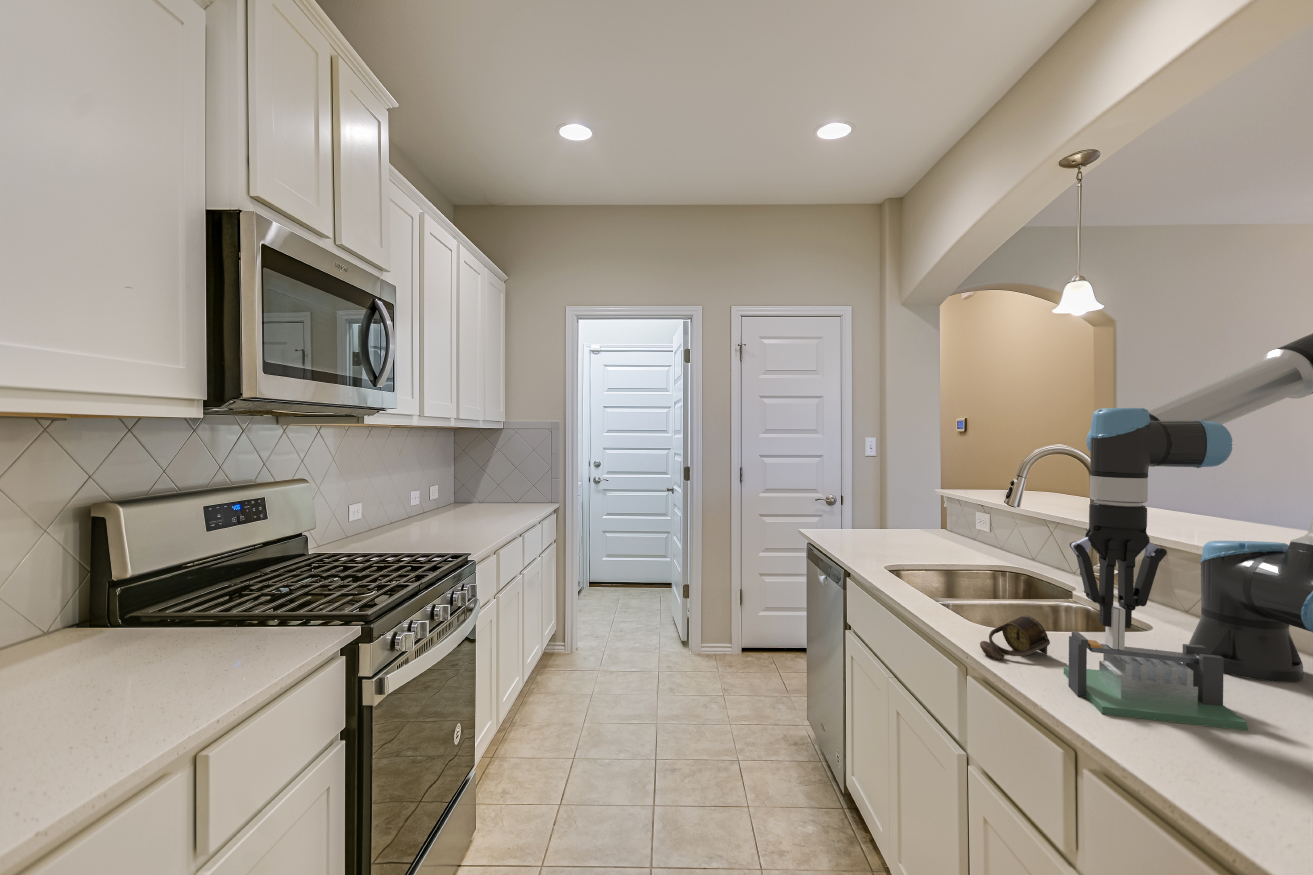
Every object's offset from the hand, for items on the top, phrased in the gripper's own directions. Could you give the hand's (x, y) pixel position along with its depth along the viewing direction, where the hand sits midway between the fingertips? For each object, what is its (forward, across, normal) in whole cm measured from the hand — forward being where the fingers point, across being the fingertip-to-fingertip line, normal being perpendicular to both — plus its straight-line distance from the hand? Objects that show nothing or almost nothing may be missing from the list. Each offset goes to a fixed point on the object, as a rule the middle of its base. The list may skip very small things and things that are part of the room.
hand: (1114, 646), depth 98 cm
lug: (+8, +5, 0) cm, 10 cm away
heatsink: (+7, -4, 0) cm, 8 cm away
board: (+8, -4, 0) cm, 9 cm away
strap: (+1, -4, 0) cm, 4 cm away
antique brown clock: (+9, +11, -17) cm, 22 cm away
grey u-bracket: (+7, -12, 0) cm, 14 cm away
